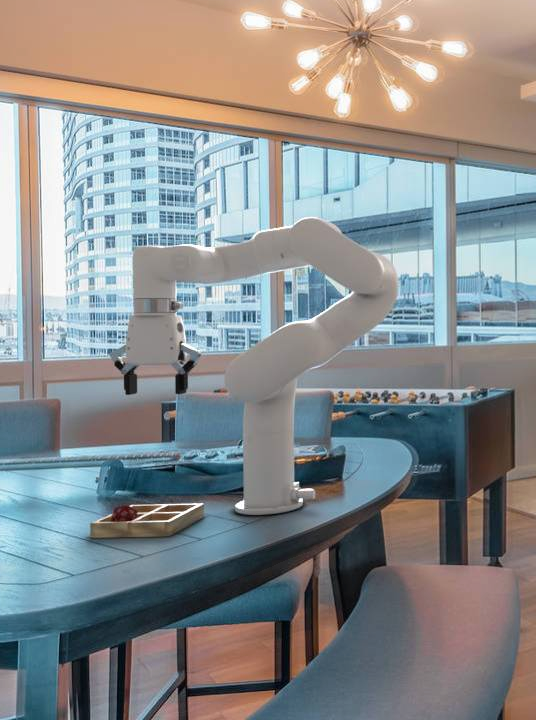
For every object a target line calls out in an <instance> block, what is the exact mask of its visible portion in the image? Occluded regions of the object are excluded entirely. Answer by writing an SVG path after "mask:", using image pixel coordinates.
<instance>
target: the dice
mask: <svg viewBox="0 0 536 720" xmlns="http://www.w3.org/2000/svg"><path fill="white" fill-rule="evenodd" d="M112 513H113V515H112V519H111V522H125V521H132V520H134V519H136V516H137V513H138V511H137V510H135V509H134V508H132V507H130V505H129V504H127V505H122V506H117V507H114V509H113V512H112Z"/></svg>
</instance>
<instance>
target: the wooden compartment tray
mask: <svg viewBox="0 0 536 720" xmlns="http://www.w3.org/2000/svg"><path fill="white" fill-rule="evenodd" d="M129 506H130V507H132V508H134V509H135V510H137V511H138V513H137V516H136V519H134V520H132V521H125V522H111V519H112V515H113V512H112V513H110V514H108V515H106V516H103V517H101V518H99V519H97V520H94V521H92V522H90V523H89V524H90V525H89V533H90V534H89V538H90V539H105V538H107V539H108V538H148V537H149V538H153V537H154V538H156V537H157V538H158V537H159V538H161V537H162V538H163V537H171V536H173V535H174V534H176V533H178V532H180V531H182V530H183V529H185V528H187V527H189V526H191V525H192V524H194V523H196V522H197V521H199V520H201V519H203V518H205V504H204V503H173V504H172V503H162V504H158V503H157V504H155V503H154V504H131V505H129Z"/></svg>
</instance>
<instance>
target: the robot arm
mask: <svg viewBox="0 0 536 720" xmlns="http://www.w3.org/2000/svg"><path fill="white" fill-rule="evenodd" d="M306 267H312V268H313V269H315V270H316V271H318V272H320V273H321V274H323V275H325V276H326V277H328V278H329V279H331V280H332V281H334V282H335V283H337V284H339V285H340V286H341V287H343V288H345V289H347V290H349V291H351V293H349V294H348V295H347V296H345V297H344V298H342V299H340V300H339V301H337V302H335V303H333V305H331V306H330V307H329V308H327V309H325V310H324V311H323V312H320V313H318V314H317V315H316V316H314V317H313V318H311V319H308V320H298V321H293V322H290V323H287V324H285V325H283V326H281V327H279V328H278V329H277V330H275V331H273V332H272V333H270V334H268V335H267V336H266V337H264V338H263V339H261V340H260V341H258V342H257V343H255V344H254V345H252V346H251V347H249V348H247V350H245V351H243V352H242V353H240V354H239V355H238V356H236V357H235V358H234V359H233V360H232V361H231V362H230V363H229V365H228V366H227V368H226V369H225V372H224V387H225V389H226V391H227V392H228V394H229V395H230V396H231V397H232V398H234V399H235V400H236V401H239V402H242V403H244V407H243V416H242V417H243V418H242V465H243V466H242V467H243V468H242V469H243V471H242V472H243V474H242V475H243V481H242V482H243V500H242V501H241V500H240V501H239V502H237V503H236V504H235V505H234V511H235V512H236V513H238V514H240V515H247V516H265V515H277V514H282V513H287V512H291V511H294V510H297V509H299V508H301V507H302V506H303V505H304V504H303V503H304V500H315V499H316V490H315V489H314V488H301V487H300V482H299V481H295V403H296V393H297V386H298V385H297V384H298V377H300V376H301V375H302V374H304V373H306V372H308V371H309V370H312V369H316V368H319V367H321V366H324V365H326V364H327V363H328V362H329V361H330V360H332V359H333V358H334V357H336V356H337V355H338V354H339V353H341V352H342V351H344V350H346V349H348V347H350V346H351V345H353V344H354V343H356V341H358V340H359V339H361V338H362V337H363V336H365V335H366V334H368V333H369V332H371V331H373V330H374V329H375V328H376V327H377V326H378V325H380V323H382V322H383V321H384V320H385V319H386V318H387V317H388V315H389V314H390V313H391V311H392V310H393V308H394V307H395V304H396V301H397V298H398V294H399V277H398V273H397V270H396V267H395V266H394V264H393V263H392V262H391V260H390V259H389V258H388V257H386V256H384V255H383V254H380V253H377V252H375V251H371V250H369V249H367V248H366V247H364V246H363V245H361V244H359V243H357V242H356V241H355V240H353V239H351V238H349V237H348V236H347V235H345V234H343V232H342V230H341V228H339V227H338V226H337V225H335V224H334V223H333V222H330V221H328V220H326V219H323V218H320V217H314V216H310V217H309V216H308V217H304V218H301V219H299V220H298V221H296V222H295V223H294V224H293V225H290V226H284V227H278V228H271V229H266V230H260V231H257V232H256V233H254V235H253V236H252V237H250V239H248V240H245V241H242V242H238V243H233V244H227V245H223V246H214V247H205V246H202V245H195V244H177V245H176V244H175V245H170V246H162V245H160V246H159V245H142V246H137V247H136V248H135V249H134V250H133V253H132V284H133V285H132V287H133V291H132V292H133V293H132V294H133V298H132V299H133V315H129V316H130V317H129V321H128V325H127V331H126V340H125V344H124V345H122V346H120V347H119V348H116V349H115V350H112V351H111V352H110V353H109V357H110V359H111V361H112V363H114V367H115V368H116V369H117V370H118V371H119V372H120V374H121V375H122V376H123V390H124V393H125V395H126V396H131V395H136V394H138V374H137V373H135V372H136V371H137V369H138V368H139V367H140V366H169V365H171V366H172V367H173V368H174V370H175V371H176V372H177V374H175V375H174V381H175V382H174V387H175V391H174V393H175V394H176V395H184V394H186V393H187V390H188V389H189V374H190V373H191V371H192V370H193V369H194V368H195V367H196V366H197V364H198V362H199V360H200V358H201V356H202V351H201V350H198V349H197V348H195V347H192V346H191V345H188V344H187V340H186V332H185V326H184V322H183V317H182V315H181V314H177V313H178V311H179V310H183V309H184V303H183V302H180V301H178V299H177V282H181V283H188V284H189V283H190V284H204V285H212V284H220V283H225V282H232V281H238V280H243V279H248V278H253V277H257V276H263V275H267V274H273V273H278V272H283V271H289V270H295V269H300V268H306ZM123 355H125V360H126V362H127V363H126V362H125V361H124V360H123V358H122V356H123ZM187 355H189V356H190V357H189V360H188V361H187V358H188V357H187Z"/></svg>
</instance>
